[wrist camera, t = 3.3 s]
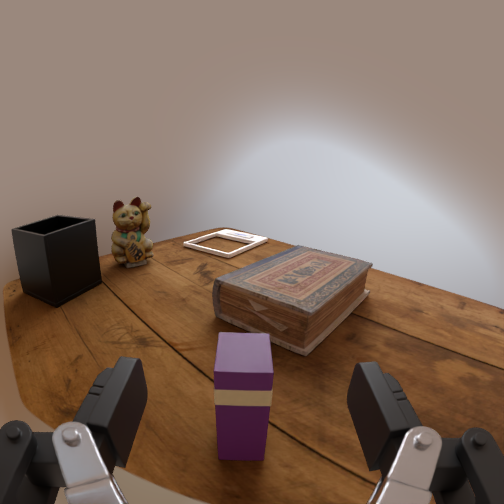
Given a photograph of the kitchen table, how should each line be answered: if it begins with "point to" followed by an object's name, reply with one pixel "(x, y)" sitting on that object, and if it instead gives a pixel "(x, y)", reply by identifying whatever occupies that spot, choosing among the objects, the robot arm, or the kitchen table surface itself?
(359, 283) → the book
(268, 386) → the chocolate bar
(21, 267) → the waste bin
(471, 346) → the kitchen table surface
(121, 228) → the decorative figurine
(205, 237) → the photo frame
